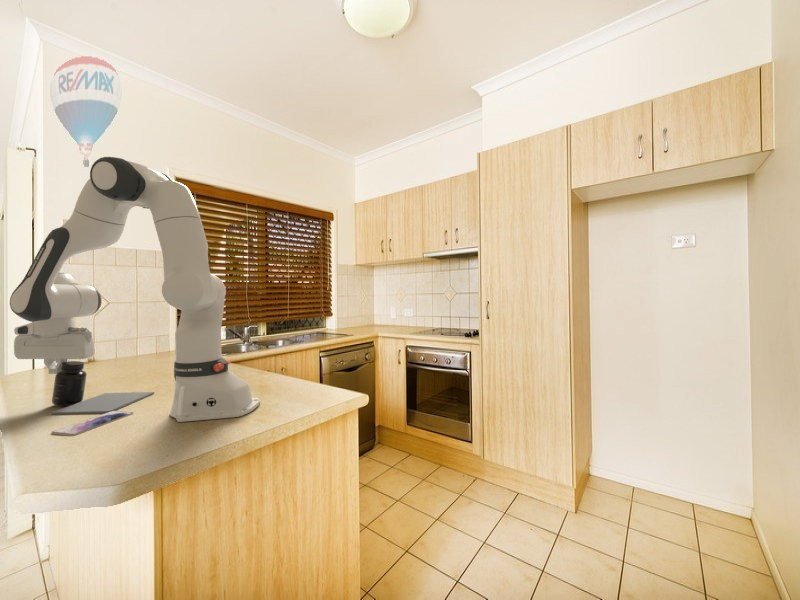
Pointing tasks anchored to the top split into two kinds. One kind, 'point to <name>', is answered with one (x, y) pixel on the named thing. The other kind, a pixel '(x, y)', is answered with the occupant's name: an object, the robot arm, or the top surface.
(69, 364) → the supplement bottle
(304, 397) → the top surface
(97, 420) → the smartphone
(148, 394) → the rubber mat
